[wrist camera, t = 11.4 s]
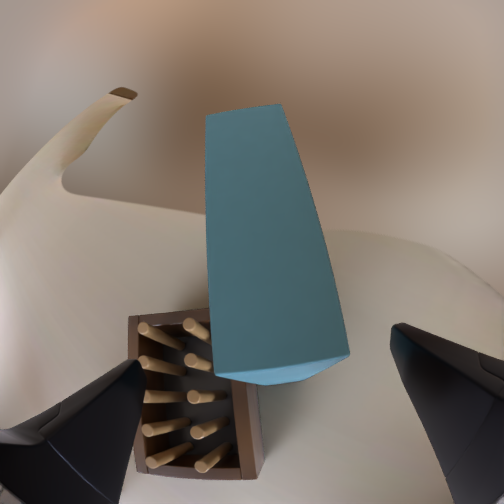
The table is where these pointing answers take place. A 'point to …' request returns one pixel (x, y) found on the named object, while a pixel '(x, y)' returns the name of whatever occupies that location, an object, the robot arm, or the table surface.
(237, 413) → the plate rack
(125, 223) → the table surface
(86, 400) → the robot arm
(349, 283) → the table surface
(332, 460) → the table surface
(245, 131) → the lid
